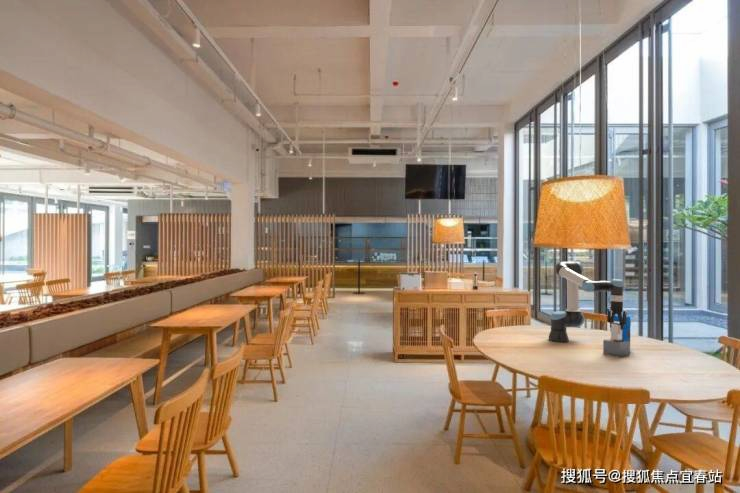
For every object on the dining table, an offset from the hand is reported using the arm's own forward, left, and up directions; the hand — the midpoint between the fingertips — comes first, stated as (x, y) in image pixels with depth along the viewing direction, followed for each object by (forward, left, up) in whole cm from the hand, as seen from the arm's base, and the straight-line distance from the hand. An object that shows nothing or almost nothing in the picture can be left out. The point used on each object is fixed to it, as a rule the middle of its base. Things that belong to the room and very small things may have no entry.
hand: (616, 333), depth 298 cm
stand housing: (0, 0, -15) cm, 15 cm away
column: (0, 0, -15) cm, 15 cm away
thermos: (-7, +19, -16) cm, 26 cm away
